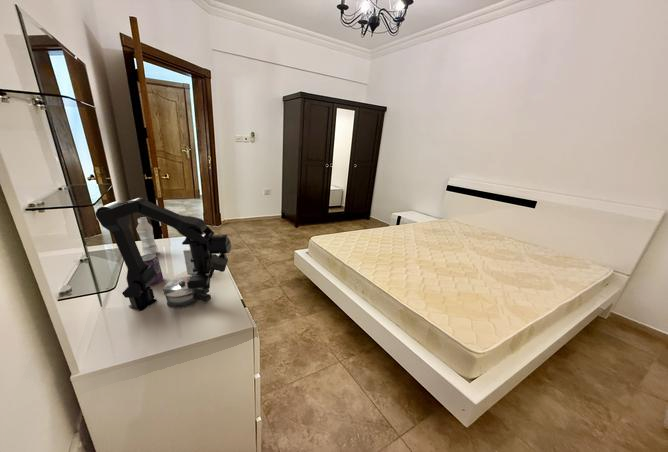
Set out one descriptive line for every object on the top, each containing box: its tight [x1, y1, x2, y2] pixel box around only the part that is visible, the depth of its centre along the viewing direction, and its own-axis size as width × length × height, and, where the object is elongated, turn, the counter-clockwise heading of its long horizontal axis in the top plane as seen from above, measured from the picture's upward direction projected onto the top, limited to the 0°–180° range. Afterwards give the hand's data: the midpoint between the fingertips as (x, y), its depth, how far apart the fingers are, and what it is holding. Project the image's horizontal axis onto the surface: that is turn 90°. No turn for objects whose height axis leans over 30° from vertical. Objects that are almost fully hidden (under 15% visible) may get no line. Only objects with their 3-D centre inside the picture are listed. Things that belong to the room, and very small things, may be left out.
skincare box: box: [182, 245, 197, 275], centre depth 116 cm, size 6×4×12 cm
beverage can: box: [141, 254, 164, 286], centre depth 107 cm, size 7×7×12 cm
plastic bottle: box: [136, 216, 159, 255], centre depth 128 cm, size 6×7×20 cm
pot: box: [165, 292, 212, 310], centre depth 98 cm, size 12×18×5 cm
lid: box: [162, 275, 210, 298], centre depth 97 cm, size 13×18×2 cm
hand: (208, 288), depth 98 cm, fingers closed
